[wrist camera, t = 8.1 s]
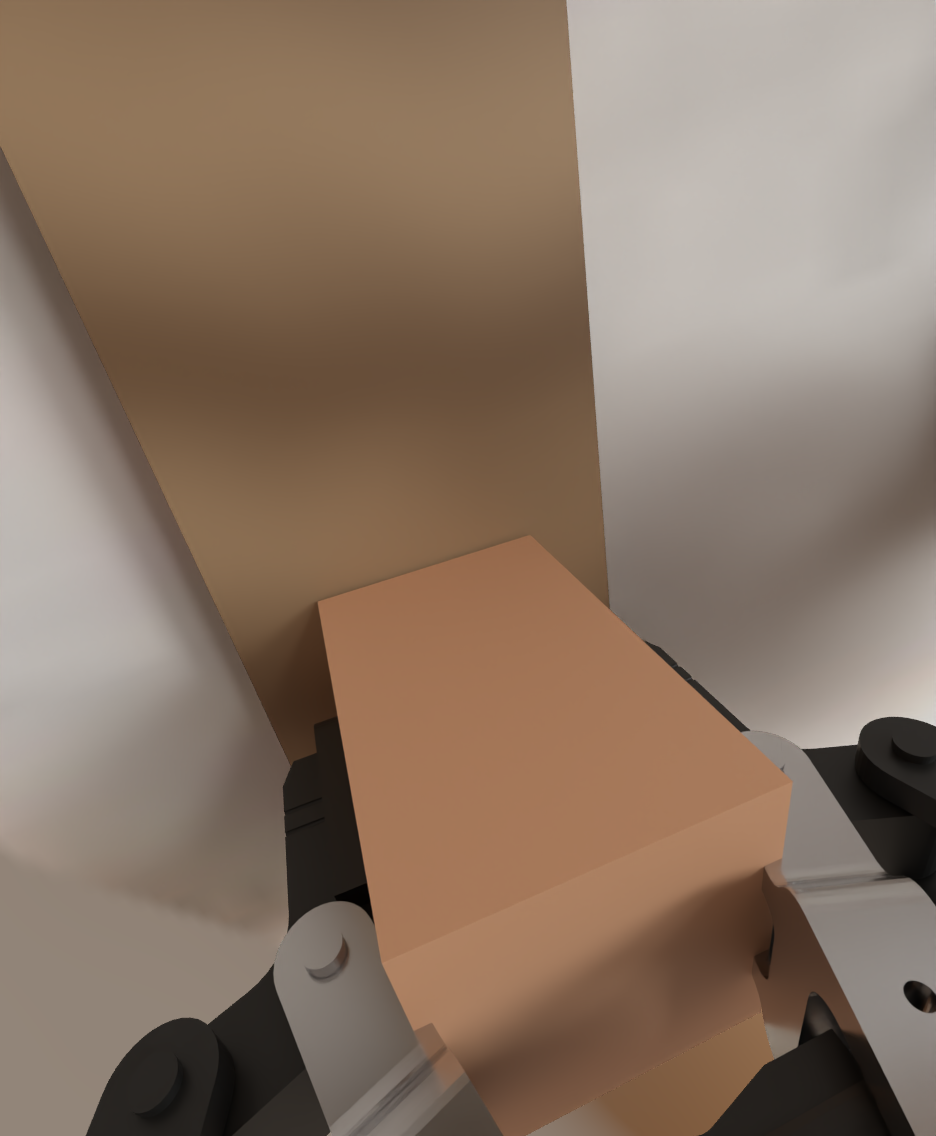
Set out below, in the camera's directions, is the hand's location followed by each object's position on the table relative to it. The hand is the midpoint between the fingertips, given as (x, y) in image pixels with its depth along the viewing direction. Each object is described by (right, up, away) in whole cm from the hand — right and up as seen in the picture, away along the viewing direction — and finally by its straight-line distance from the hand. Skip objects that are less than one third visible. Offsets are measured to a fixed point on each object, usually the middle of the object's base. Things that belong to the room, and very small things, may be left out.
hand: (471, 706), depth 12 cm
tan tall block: (0, +1, +1) cm, 2 cm away
